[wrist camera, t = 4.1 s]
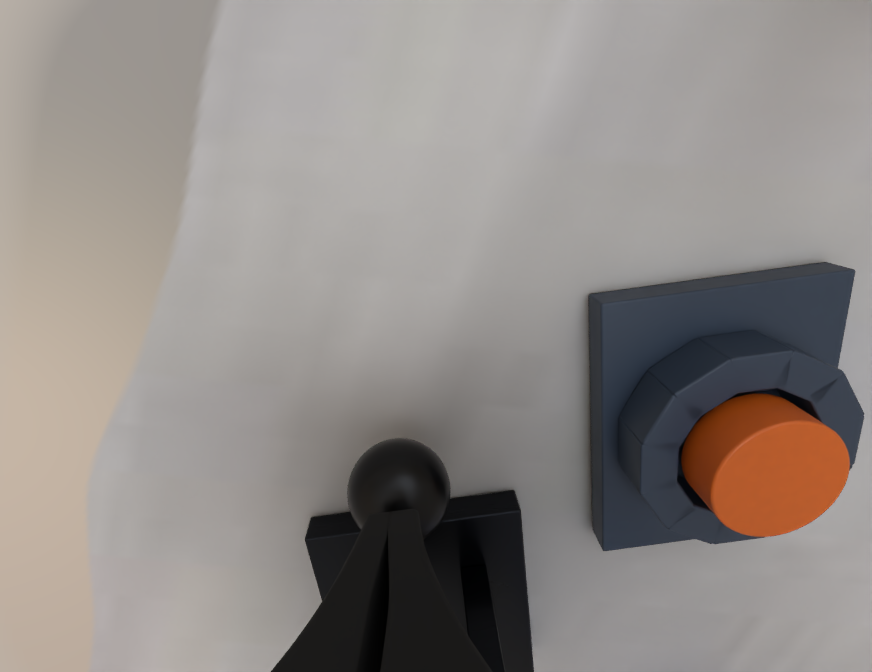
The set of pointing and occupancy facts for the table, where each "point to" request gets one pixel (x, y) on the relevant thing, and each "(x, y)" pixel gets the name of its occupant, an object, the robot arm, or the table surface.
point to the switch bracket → (459, 571)
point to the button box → (704, 385)
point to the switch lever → (399, 483)
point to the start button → (764, 464)
